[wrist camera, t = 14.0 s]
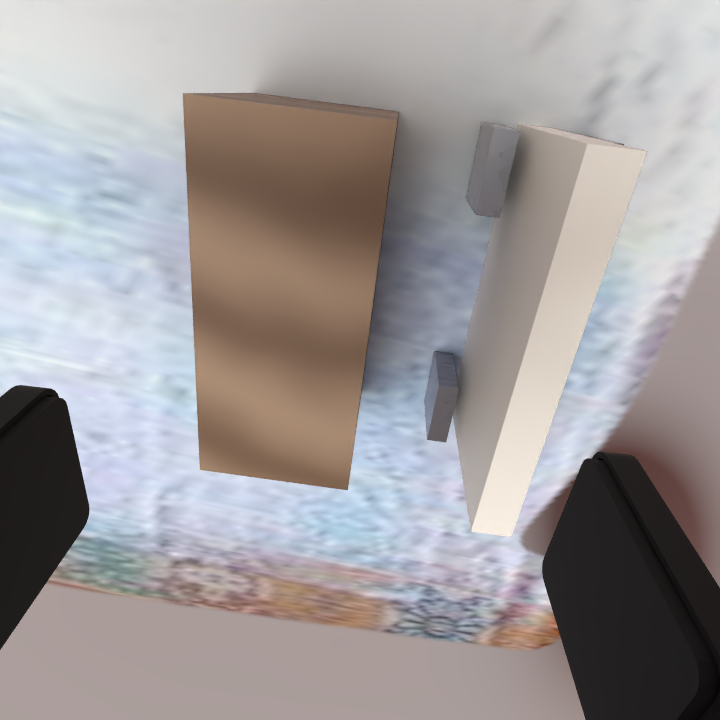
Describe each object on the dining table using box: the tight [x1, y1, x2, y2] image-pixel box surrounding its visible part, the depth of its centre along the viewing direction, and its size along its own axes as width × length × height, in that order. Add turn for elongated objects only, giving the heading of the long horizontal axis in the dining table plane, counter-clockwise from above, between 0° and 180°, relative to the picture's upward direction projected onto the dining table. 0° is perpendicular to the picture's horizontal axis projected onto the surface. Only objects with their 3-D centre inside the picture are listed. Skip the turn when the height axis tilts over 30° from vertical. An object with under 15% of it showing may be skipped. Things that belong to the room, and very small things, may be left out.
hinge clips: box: [424, 122, 624, 442], centre depth 30 cm, size 18×6×4 cm, turn 174°
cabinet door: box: [453, 124, 647, 537], centre depth 27 cm, size 18×3×12 cm, turn 173°
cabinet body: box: [183, 93, 399, 490], centre depth 28 cm, size 18×8×10 cm, turn 174°
